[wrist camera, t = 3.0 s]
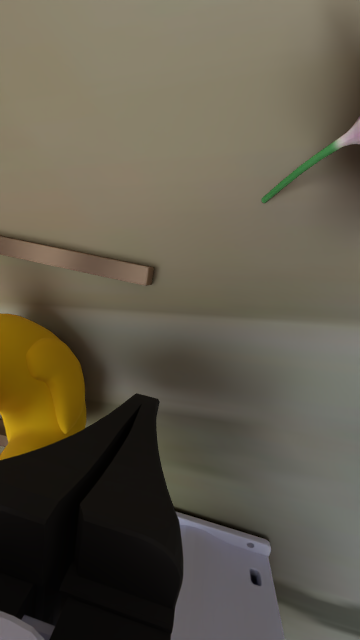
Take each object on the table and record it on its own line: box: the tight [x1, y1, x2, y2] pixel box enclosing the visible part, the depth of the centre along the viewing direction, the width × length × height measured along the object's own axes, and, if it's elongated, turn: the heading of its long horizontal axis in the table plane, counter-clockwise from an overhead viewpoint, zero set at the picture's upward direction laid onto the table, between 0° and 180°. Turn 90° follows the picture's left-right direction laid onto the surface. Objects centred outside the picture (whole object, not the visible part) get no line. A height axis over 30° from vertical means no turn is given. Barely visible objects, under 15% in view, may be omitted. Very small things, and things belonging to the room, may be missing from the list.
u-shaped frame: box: [0, 236, 154, 447], centre depth 14 cm, size 18×15×2 cm
